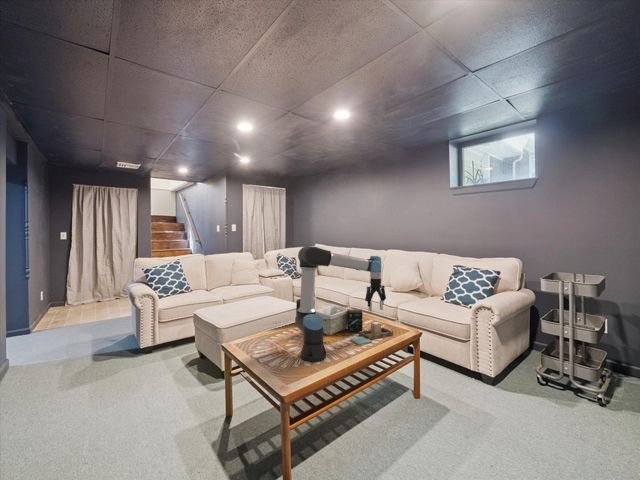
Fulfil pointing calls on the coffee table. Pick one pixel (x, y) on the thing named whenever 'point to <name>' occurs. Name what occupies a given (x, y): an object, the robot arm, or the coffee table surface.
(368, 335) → the walnut bin
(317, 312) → the storage basket
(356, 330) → the tampon box
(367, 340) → the teal pad
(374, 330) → the kraft box
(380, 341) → the coffee table surface
